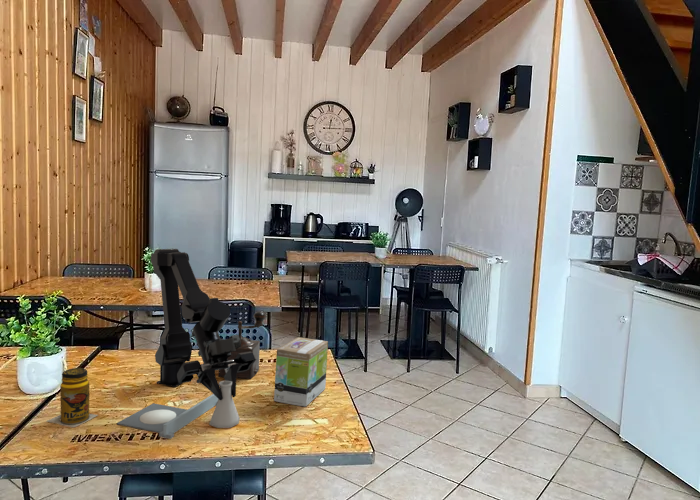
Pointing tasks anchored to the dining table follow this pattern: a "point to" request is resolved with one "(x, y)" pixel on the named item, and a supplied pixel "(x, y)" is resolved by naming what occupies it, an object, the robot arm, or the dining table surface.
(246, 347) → the dark wooden grinder box
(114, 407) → the dining table surface
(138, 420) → the resting mat
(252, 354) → the robot arm
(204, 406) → the grey footed bar
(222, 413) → the flask
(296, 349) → the tea box
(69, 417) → the condiment
